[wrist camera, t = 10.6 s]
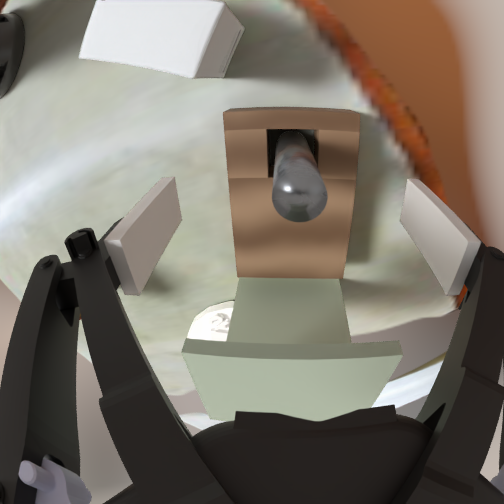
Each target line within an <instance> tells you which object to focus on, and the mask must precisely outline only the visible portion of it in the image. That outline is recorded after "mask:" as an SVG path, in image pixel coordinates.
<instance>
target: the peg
mask: <svg viewBox="0 0 504 504" xmlns="http://www.w3.org/2000/svg"><path fill="white" fill-rule="evenodd" d="M327 199H328V194H327V190H326V187H325V184H324V182H323V179H322V176H321V174H320V171H319V169H318V167H317V164H316V162H315V159H314V157H313V154H312V152H311V150H310V147H309V145H308V143H307V141H306V139H305V137H304V136H303V135H302V134H301V133H299V132H296V131H287V132H285V133H283V134H282V135H280V137H279V138H278V140H277V144H276V155H275V166H274V177H273V188H272V202H273V206H274V208H275V210H276V211H277V212H278V213H279V214H280V215H281V216H282V217H283V218H285V219H287V220H289V221H292V222H307V221H310V220H313V219H314V218H316V217H317V216H319V215H320V214H321V213H322V211H323V210H324V208H325V206H326V204H327Z"/></svg>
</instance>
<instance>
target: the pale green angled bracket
mask: <svg viewBox="0 0 504 504" xmlns="http://www.w3.org/2000/svg"><path fill="white" fill-rule="evenodd" d="M181 353H182V355H183V358H184V360H185V363H186V365H187V368H188V370H189V373H190V375H191V377H192V380H193V382H194V385H195V387H196V389H197V391H198V393H199V396H200V398H201V400H202V403H203V405H204V407H205V409H206V411H207V414H208V416H209V418H210V419H213V420H221V421H233V420H235V412H236V411H246V412H269V413H280V414H284V415H288V416H293V417H297V418H302V419H307V420H312V421H324V420H327V419H330V418H334V417H337V416H340V415H343V414H346V413H349V412H352V411H355V410H358V409H365V408H371V407H372V405H373V404H374V402H375V401H376V399H377V398H378V396H379V395H380V393H381V391H382V390H383V388H384V387H385V385H386V384H387V382H388V380H389V379H390V377H391V375H392V374H393V372H394V370H395V368H396V366H397V365H398V363H399V361H400V360H401V358H402V356H403V352H402V349H401V345H400V342H399V341H385V342H370V343H351V337H350V331H349V326H348V321H347V315H346V310H345V305H344V301H343V296H342V291H341V286H340V282H339V279H302V278H245V277H239V282H238V287H237V292H236V296H235V301H234V306H233V311H232V315H231V320H230V325H229V330H228V335H227V340H226V341H213V340H201V339H190V338H186V340H185V343H184V346H183V349H182V352H181Z"/></svg>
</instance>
